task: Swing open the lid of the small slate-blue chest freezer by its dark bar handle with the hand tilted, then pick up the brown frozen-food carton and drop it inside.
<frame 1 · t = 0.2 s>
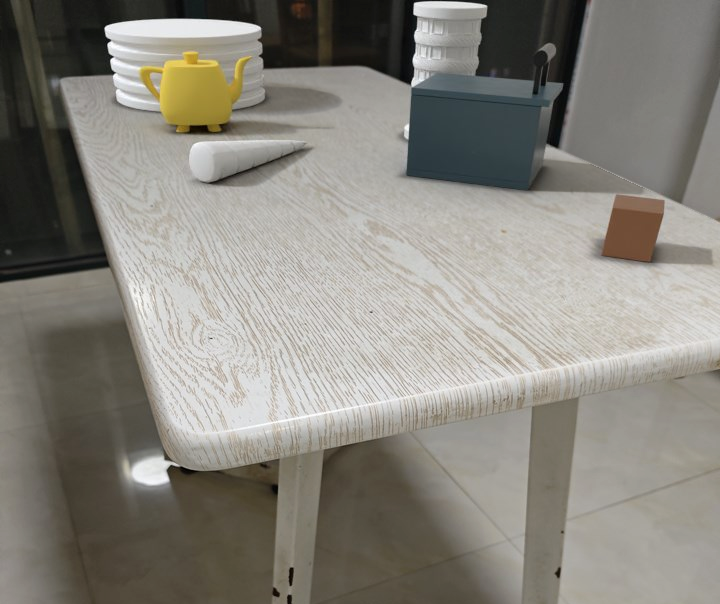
freezer lid: (491, 68, 92), point 13 cm above the table, hinge at 0.0°
freezer: (475, 170, 100), on the table
unicorn horn: (253, 166, 100), on the table
teapot: (203, 128, 117), on the table
decorative container: (439, 138, 115), on the table
carton: (626, 251, 76), on the table
plate stack: (192, 98, 136), on the table
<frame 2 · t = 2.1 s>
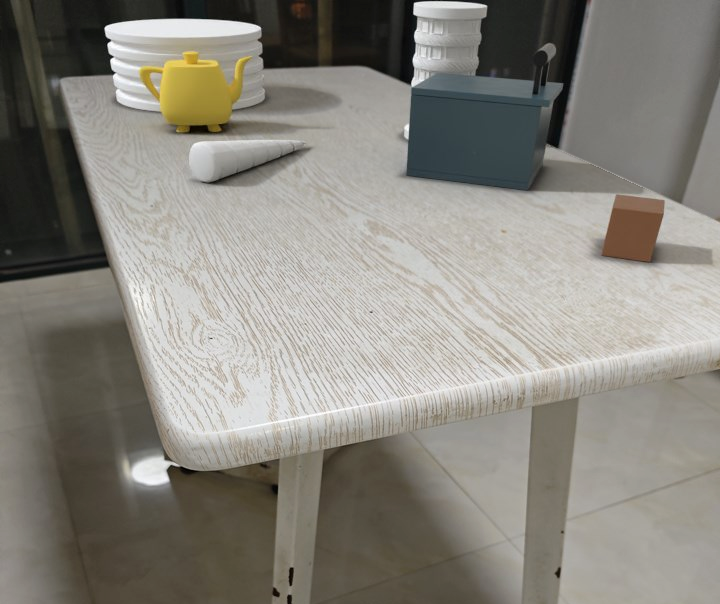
nothing on the table moved.
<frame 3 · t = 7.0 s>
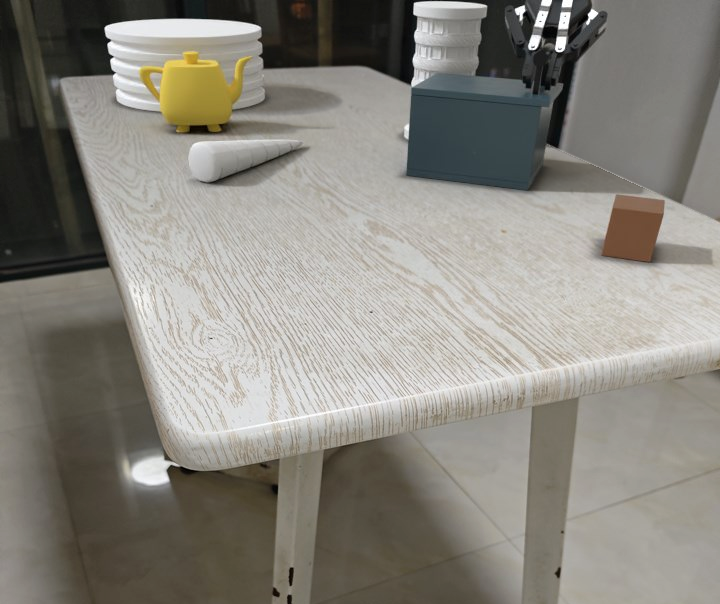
hand: (538, 84, 89), 12 cm above the table, tool tilted 45°, fingers closed on freezer lid, 2 cm apart
freezer lid: (491, 68, 92), point 13 cm above the table, hinge at 0.0°, touching gripper
everything else where it was.
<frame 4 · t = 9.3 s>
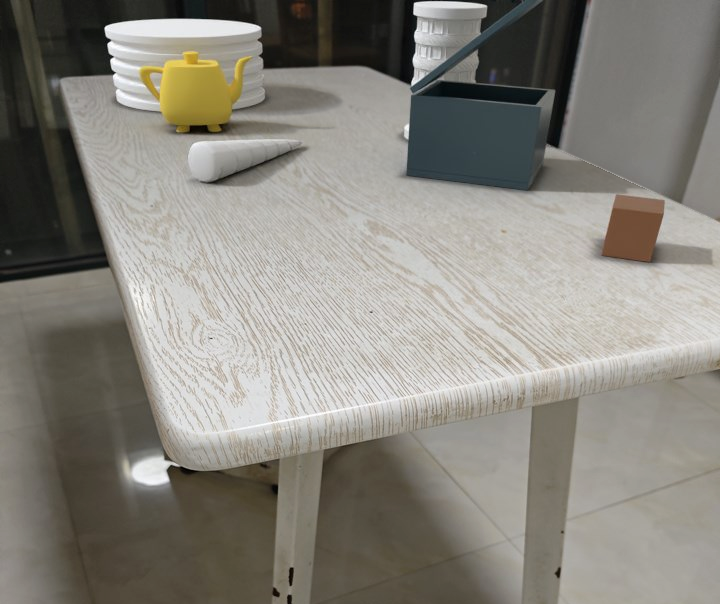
freezer lid: (471, 22, 89), point 18 cm above the table, hinge at 37.0°, touching gripper
everything else where it was.
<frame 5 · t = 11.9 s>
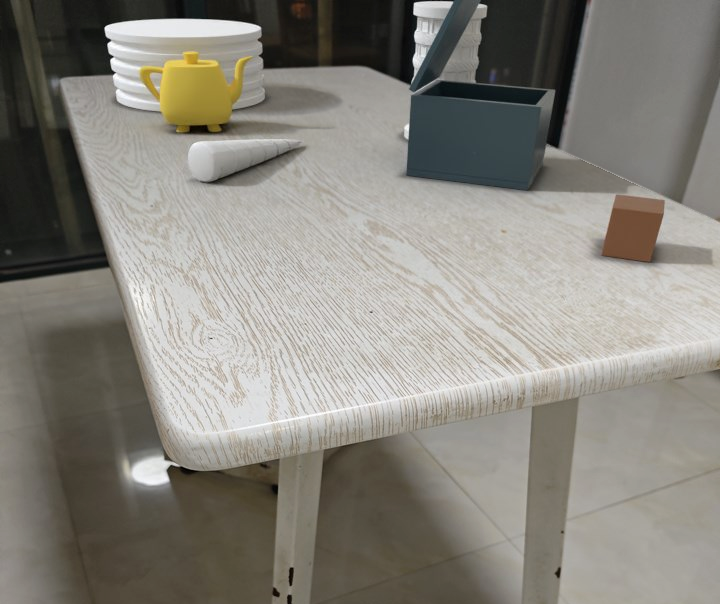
freezer lid: (444, 4, 89), point 19 cm above the table, hinge at 62.8°, touching gripper
everything else where it was.
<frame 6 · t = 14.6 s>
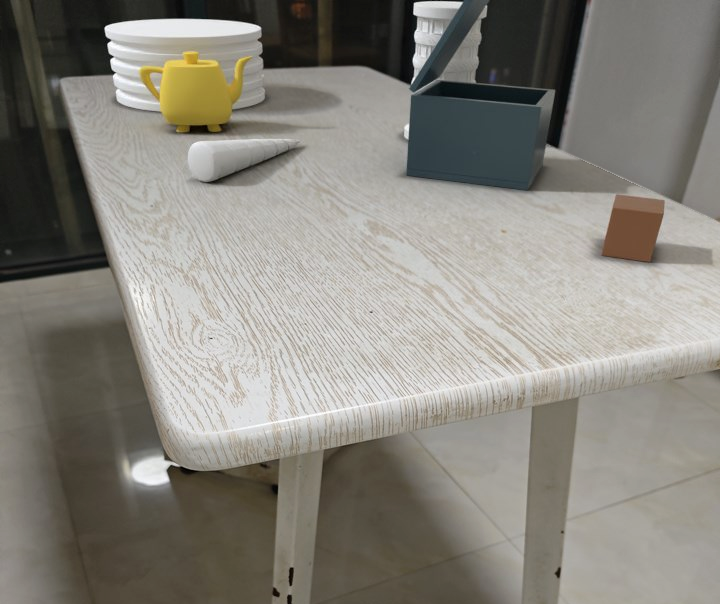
freezer lid: (450, 6, 89), point 19 cm above the table, hinge at 57.6°, touching gripper
everything else where it was.
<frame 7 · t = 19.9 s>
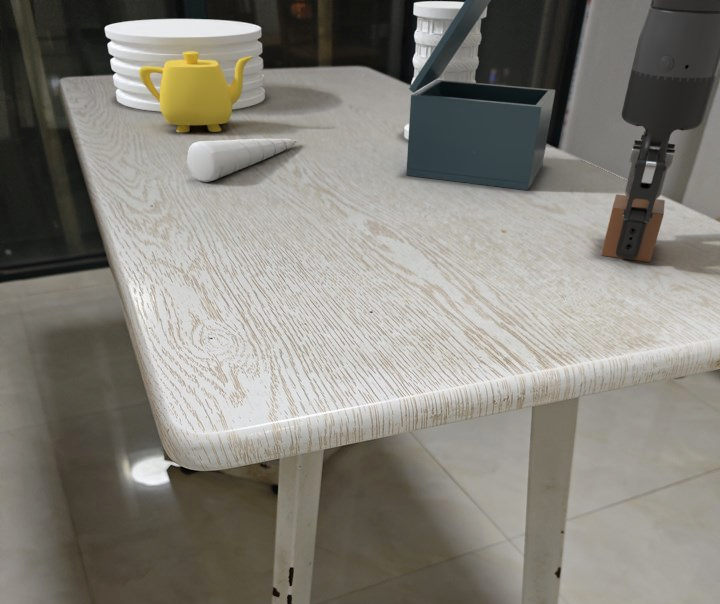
hand: (627, 247, 76), 0 cm above the table, tool pointing down, fingers closed on carton, 5 cm apart
freezer lid: (451, 7, 89), point 19 cm above the table, hinge at 56.9°
carton: (626, 251, 76), on the table, touching gripper
when the fingers open (9 cm above the table, at t = 27.8 s): carton drops 8 cm, resting on freezer.
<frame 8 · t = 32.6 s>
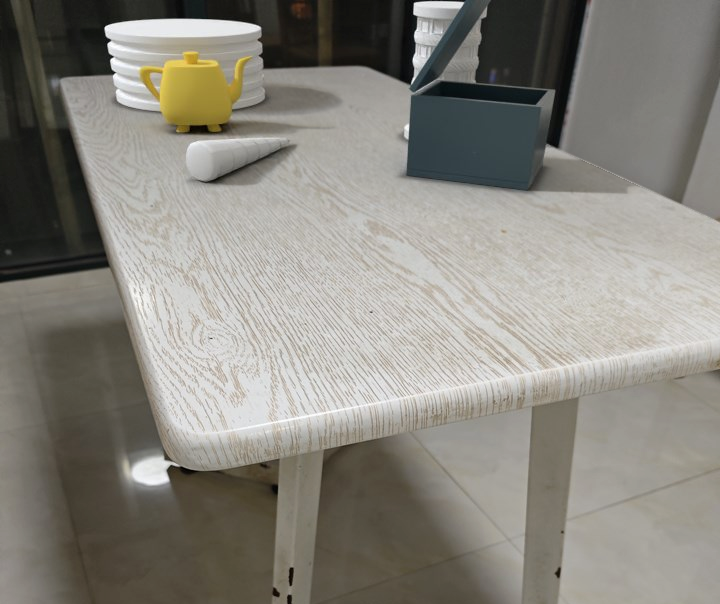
carton: (508, 167, 98), point 1 cm above the table, touching freezer
at the end: freezer lid at +57° (first picture: +0°); carton inside the target area in the freezer (4.5 cm from its centre), point 0.9 cm above the freezer's base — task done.
